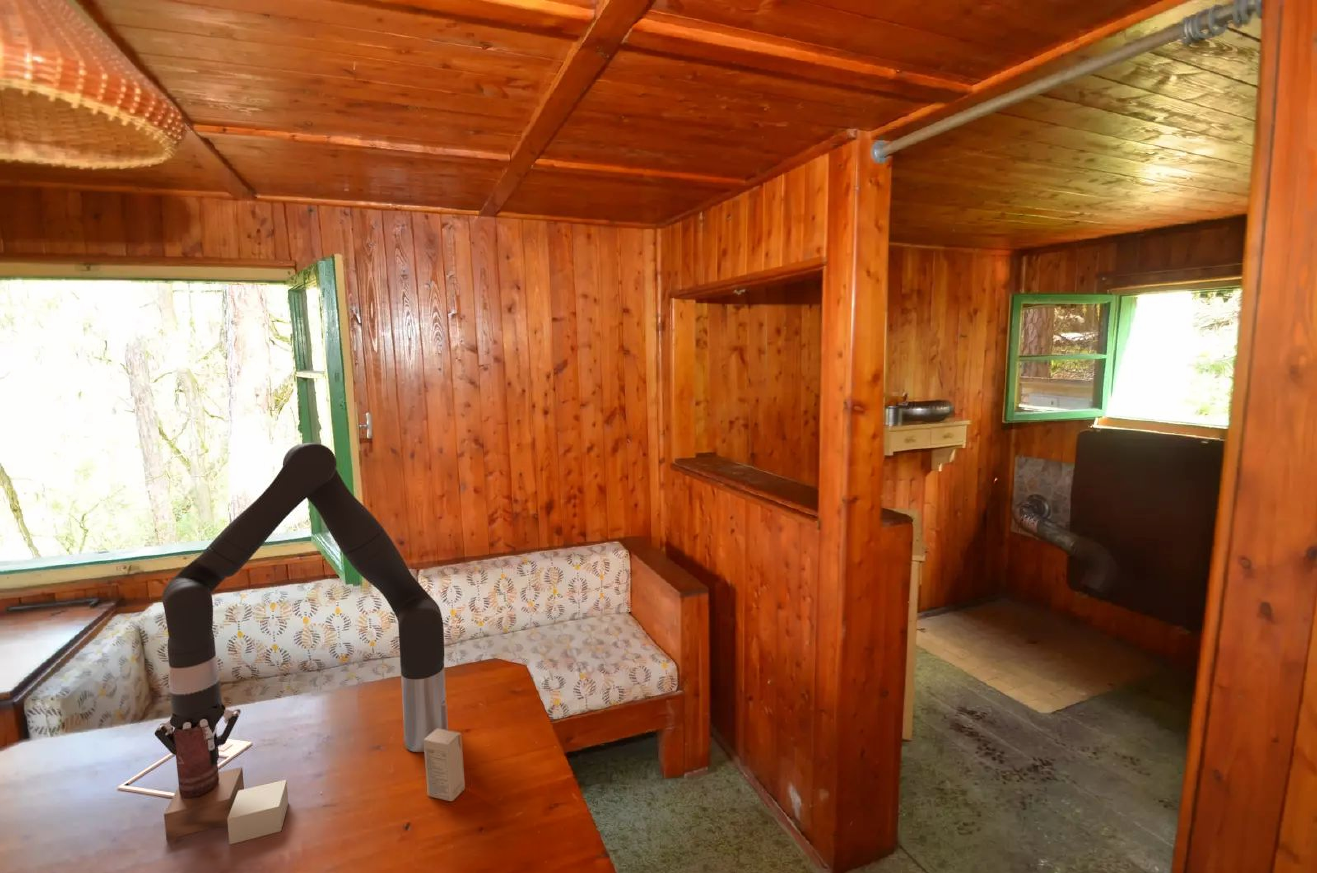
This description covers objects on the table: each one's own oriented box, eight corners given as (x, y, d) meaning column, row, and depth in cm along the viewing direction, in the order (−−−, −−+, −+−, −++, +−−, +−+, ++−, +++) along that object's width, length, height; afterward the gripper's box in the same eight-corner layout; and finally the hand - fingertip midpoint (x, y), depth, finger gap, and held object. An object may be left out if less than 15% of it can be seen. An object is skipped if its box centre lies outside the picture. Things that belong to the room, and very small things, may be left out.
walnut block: (244, 789, 124) (242, 767, 123) (231, 823, 115) (229, 799, 114) (184, 803, 120) (182, 780, 119) (166, 839, 111) (163, 814, 110)
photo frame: (252, 741, 139) (176, 795, 121) (252, 746, 139) (177, 800, 121) (199, 734, 142) (117, 786, 124) (199, 739, 142) (118, 791, 124)
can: (198, 802, 113) (191, 732, 112) (171, 797, 115) (164, 727, 113) (228, 780, 119) (222, 713, 118) (202, 776, 120) (195, 710, 119)
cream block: (288, 803, 120) (286, 779, 119) (280, 831, 113) (278, 806, 112) (240, 814, 117) (238, 790, 116) (229, 844, 110) (227, 819, 109)
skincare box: (465, 788, 124) (463, 732, 122) (452, 803, 120) (449, 745, 118) (439, 781, 126) (437, 726, 125) (425, 795, 122) (422, 738, 120)
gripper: (243, 666, 120) (250, 747, 122) (157, 680, 115) (165, 765, 117) (233, 684, 114) (241, 770, 115) (141, 700, 108) (150, 790, 110)
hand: (203, 767), depth 116 cm, fingers closed
